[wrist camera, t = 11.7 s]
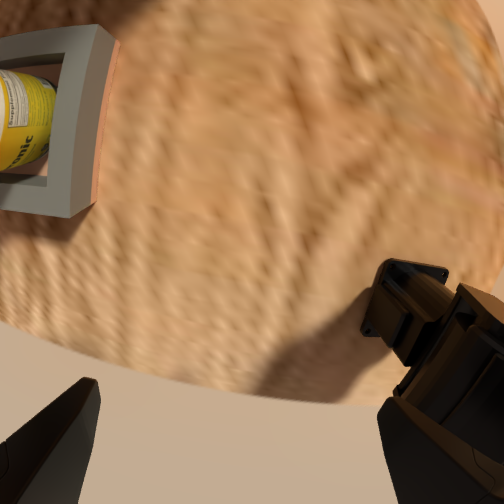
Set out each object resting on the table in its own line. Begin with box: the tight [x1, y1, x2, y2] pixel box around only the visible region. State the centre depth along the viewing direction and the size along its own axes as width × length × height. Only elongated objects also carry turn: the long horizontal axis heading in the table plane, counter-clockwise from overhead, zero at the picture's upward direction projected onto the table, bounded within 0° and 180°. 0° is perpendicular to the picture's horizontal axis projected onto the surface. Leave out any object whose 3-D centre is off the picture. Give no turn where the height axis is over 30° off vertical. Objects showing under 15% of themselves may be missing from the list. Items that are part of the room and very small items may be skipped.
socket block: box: [0, 24, 121, 218], centre depth 13 cm, size 10×10×4 cm
